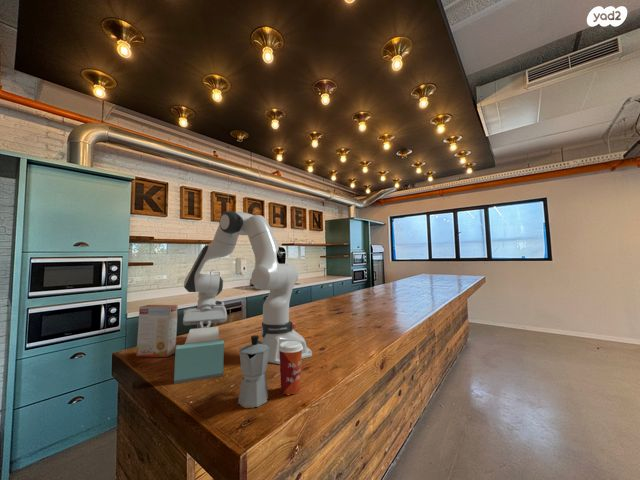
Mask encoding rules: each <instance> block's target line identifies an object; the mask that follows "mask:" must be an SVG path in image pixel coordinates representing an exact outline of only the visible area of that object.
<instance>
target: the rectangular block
mask: <svg viewBox="0 0 640 480" xmlns="http://www.w3.org/2000/svg"><path fill="white" fill-rule="evenodd" d="M224 353H225V341H224V339H222V340H219V341H212V342H204V343H195V344H186V345H185V344H176V351H175V353H174V354H175V355H174V356H175V357H174V372H173V376H174V378H173V385H175V384H182V383H189V382H194V381H199V380H206V379H212V378H218V377H219V378H220V377H223V376H224V359H225V358H224V356H225V354H224Z"/></svg>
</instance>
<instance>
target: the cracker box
mask: <svg viewBox="0 0 640 480" xmlns="http://www.w3.org/2000/svg"><path fill="white" fill-rule="evenodd" d="M178 307H179V306H178V304H146V305H141V306H139V309H138V310H139V311H138V324H137V325H138V326H137V328H138V329H137V342H136V354H135V355H136V357H147V358H149V357H150V358H151V357H153V358H168V357H169V356H171V355H174V354H175V351H176V347H177V331H178V330H177V329H178Z"/></svg>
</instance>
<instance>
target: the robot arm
mask: <svg viewBox="0 0 640 480" xmlns="http://www.w3.org/2000/svg"><path fill="white" fill-rule="evenodd" d="M218 223H219V224H218V227H217V228H216V232H215V234H214V237H213V239H212V241H211V242H210V243H209V244H207V245H206V244H205V245H204V247H203V248H201V250H200V252H199V254H198V255H197V258H196V260H195V261H194V263H193V265H192V267H191V269H190V271H189V272H188V274H187V275H186V277H185V279H184V282H183V288H184V289H185V290H186V291H187V292H188V293H198V295H197V298H198V300H197V305H196V306H195V307H187V308H186V309H183V313H182V314H183V318H182V325H184V326H193V325H199V328H207V327H211V325H212V324H217V323H226V321H227V320H228V313H227V308H226V307H225V302H224V301H222V300H216V297H218V295H220V294H221V292H223V288H224V280H223V278H222V277H221V276H219V275H215V274H207V273H201V272H202V269H203V267H204V265H205V264H206V263H207V262H208V261H210V260H213V259H217V258H224V257H227V256H229V255H231V254H232V253H233V251H234V250H235V248H236V245H237V242H238V238H239V236H247V237H248V240H249V243H250V246H251V249H252V252H253V254H254V259H255V264H254V265H255V266H254V268H253V270H252V273H251V278H250V279H251V283H252V285H253V287H254V288H256V289H257V290H261V291H266V292H267V291H269V294H268V296H267V298H266V299H265V300H264V302H263V305H262V322H261V326H260V327H261V329H260V332H261V333H260V335H261V341H262V344H264V345H267V346H268V347H269V348H270V349H269V356H268V363H272V364H276V365H280V351H279V349H278V348H279V347H280V344H281V343H282V342H285V341H298V342H300V343H301V344H302V346H303V349H302V359H301V360H303V359H308V358H311V357H312V355H313V351H312V350H311V349H310V348H309V347H308V346H307V342H306V339H305V338H304V337H303V336H302V335H301V334H300V333H298V332H297V331H296V330H294V329H296V328H297V327H298V326H297V323H296V322H293V321H290V302H291V296H292V293H293V290H294V287H295V285H296V283H297V281H298V280H299V270H298V269H297V267H295V266H294V265H290V264H288V263H279V261H278V257H277V255H278V254H277V253H279V250H280V249H279V248H280V247H279V243H278V242H277V240H276V237H275V234H274V232H273V230H272V228H271V225H270V223H268V221H267V219H266V218H265V217H264V216H263V215H260V214H252V213H249V212H244V211H243V212H242V211H233V210H229V211H224V212H223V213H221V215H220V218H219V222H218ZM206 324H207V325H206Z"/></svg>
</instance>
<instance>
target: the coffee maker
mask: <svg viewBox="0 0 640 480" xmlns="http://www.w3.org/2000/svg"><path fill="white" fill-rule="evenodd" d="M250 339H251V343H250V344H246V345H244V346H243V347H240V348H239V358H240V359H239V360H240V370H241V373H242V378H241V382H240V388H239V395H238V402H237V405H238V404H240V405H242V406H243V407H247V408H250V407H252V408H251V409H255V408H254V407H258V406H260V405H262V404H264V403H266V402H267V403H268V400H267V399H269V392H268V383H267V378H266V377H267V376H266V371H267V370H268V363H269V362H268V356H269V349H270V348H269V347H268V346H267V345H264V344H262V340H261V341H259V339H260V336H259V335H258V334H256V335H251V336H250ZM267 403H266V404H267ZM264 405H265V404H264ZM262 406H263V405H262ZM260 407H261V406H260ZM258 408H259V407H258Z"/></svg>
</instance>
